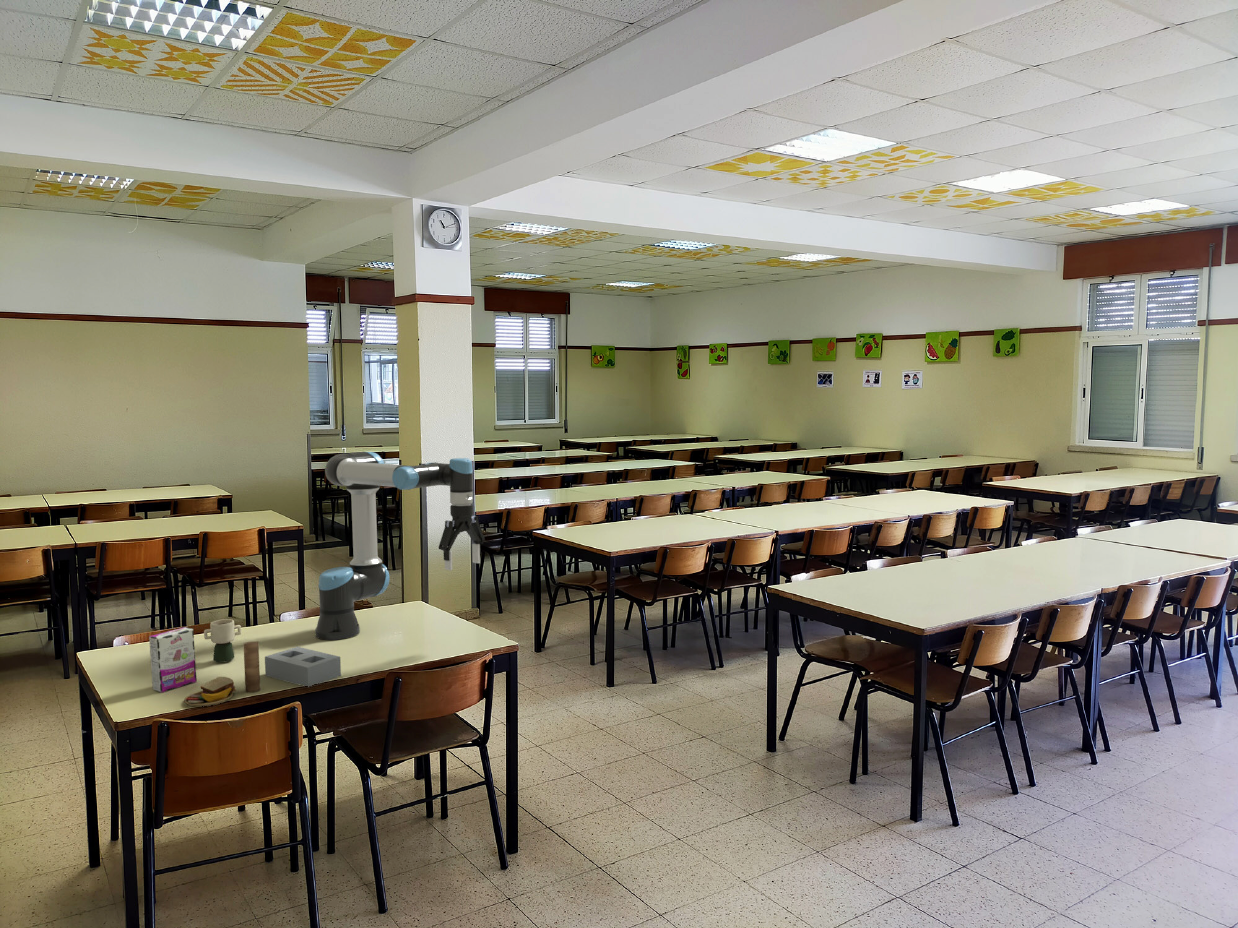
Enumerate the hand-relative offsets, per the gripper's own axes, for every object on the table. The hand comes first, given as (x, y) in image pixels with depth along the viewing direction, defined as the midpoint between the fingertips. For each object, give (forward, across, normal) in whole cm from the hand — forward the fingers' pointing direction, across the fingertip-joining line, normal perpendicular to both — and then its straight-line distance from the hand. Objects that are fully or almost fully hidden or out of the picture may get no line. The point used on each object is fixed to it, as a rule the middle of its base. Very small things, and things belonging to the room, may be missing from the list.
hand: (462, 566), depth 290 cm
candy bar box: (+28, -75, +46) cm, 92 cm away
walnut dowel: (+28, -65, +23) cm, 74 cm away
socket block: (+28, -49, +21) cm, 60 cm away
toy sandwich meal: (+28, -76, +27) cm, 85 cm away
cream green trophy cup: (+28, -53, +55) cm, 82 cm away
